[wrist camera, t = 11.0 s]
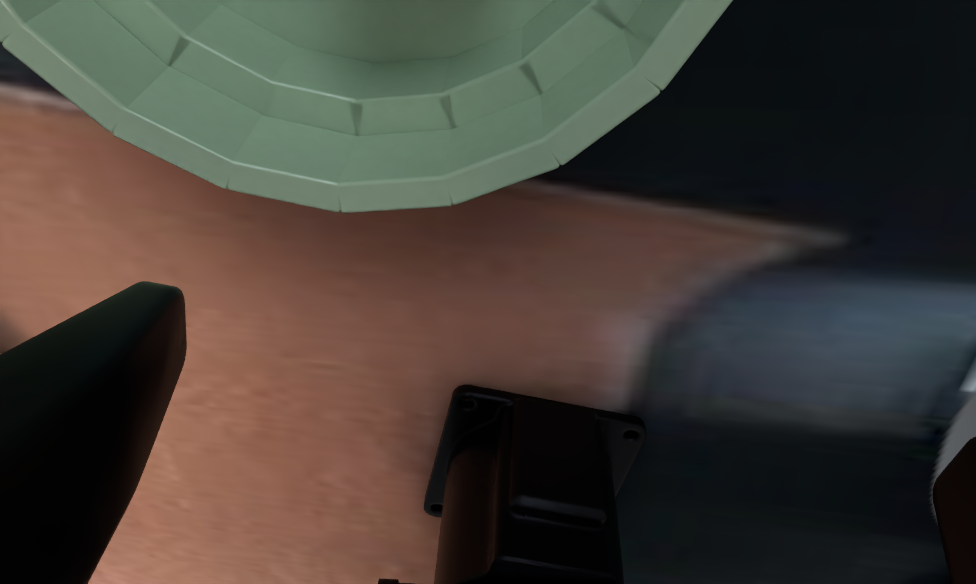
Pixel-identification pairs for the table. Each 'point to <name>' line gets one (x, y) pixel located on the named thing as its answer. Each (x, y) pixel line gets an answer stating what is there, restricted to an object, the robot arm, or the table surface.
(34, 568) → the robot arm
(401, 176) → the bowl
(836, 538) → the table surface
